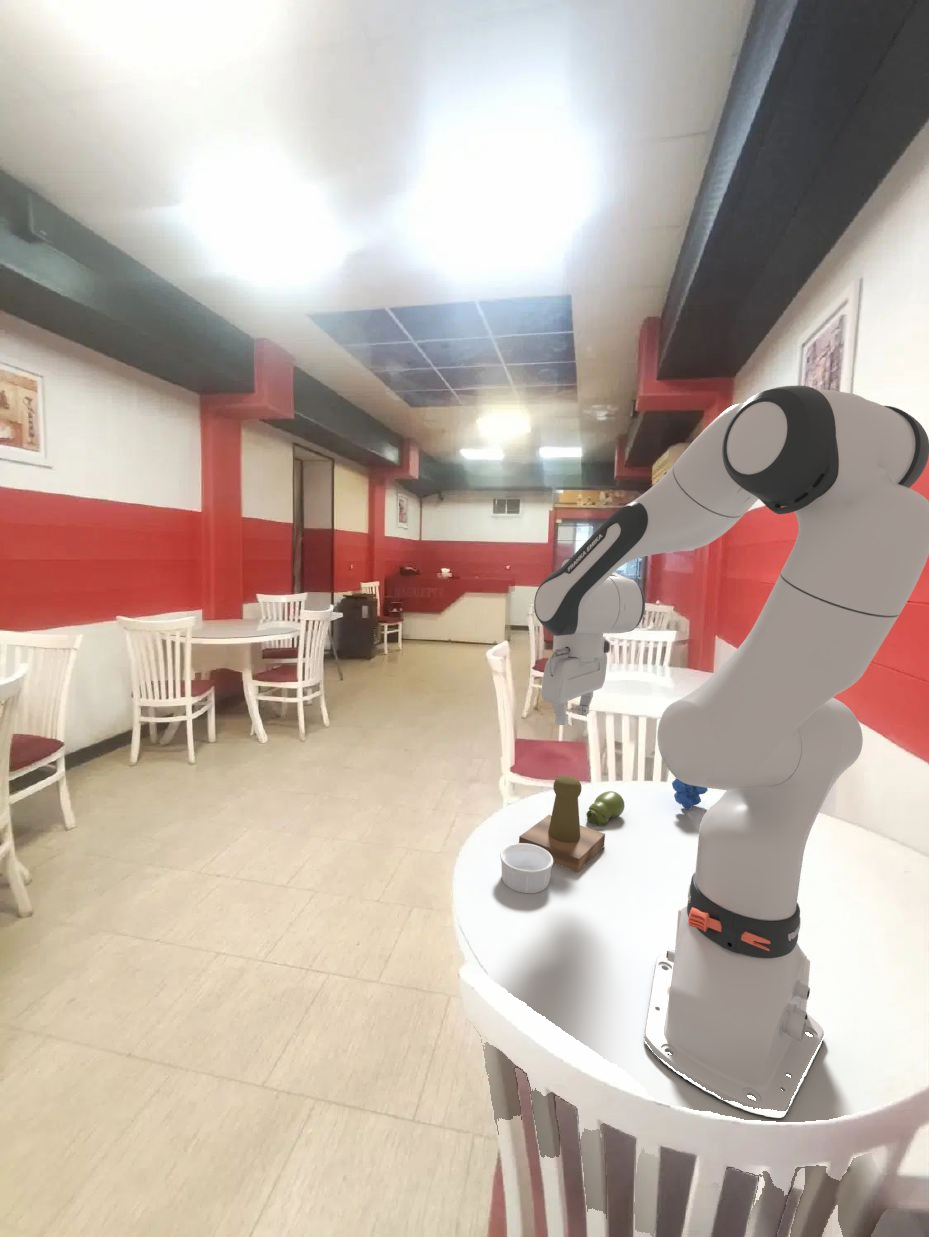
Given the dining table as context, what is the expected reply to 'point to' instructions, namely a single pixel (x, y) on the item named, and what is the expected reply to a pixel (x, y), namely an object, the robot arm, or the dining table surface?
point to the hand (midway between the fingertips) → (572, 719)
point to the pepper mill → (565, 810)
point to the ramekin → (526, 867)
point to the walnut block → (565, 845)
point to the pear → (605, 808)
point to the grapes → (687, 793)
